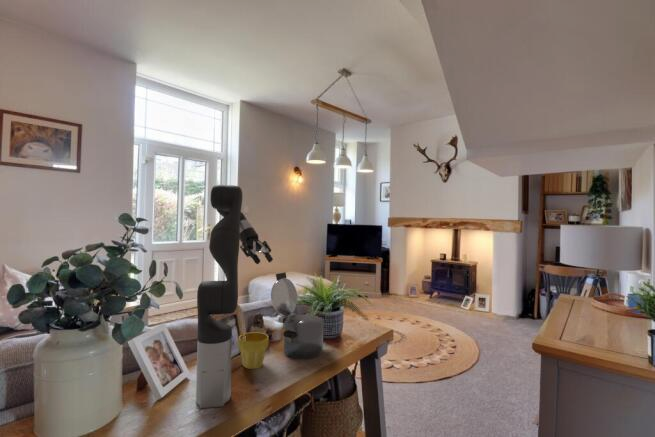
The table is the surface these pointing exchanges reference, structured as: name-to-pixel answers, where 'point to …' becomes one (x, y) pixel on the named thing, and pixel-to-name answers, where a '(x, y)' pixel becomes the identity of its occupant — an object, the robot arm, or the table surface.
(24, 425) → the table surface
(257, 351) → the plant pot
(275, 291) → the cooker lid
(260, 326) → the figurine
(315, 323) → the cooker pot
